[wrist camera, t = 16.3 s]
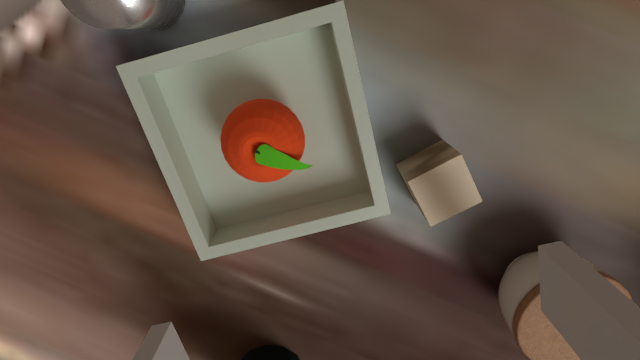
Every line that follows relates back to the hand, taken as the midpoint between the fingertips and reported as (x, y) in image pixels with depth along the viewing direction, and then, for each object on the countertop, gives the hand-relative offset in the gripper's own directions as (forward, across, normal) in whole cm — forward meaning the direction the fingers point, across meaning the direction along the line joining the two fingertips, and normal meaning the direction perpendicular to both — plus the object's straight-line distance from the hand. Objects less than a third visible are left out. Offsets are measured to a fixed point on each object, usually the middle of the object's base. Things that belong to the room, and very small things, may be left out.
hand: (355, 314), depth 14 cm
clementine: (+24, -5, +2) cm, 24 cm away
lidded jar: (+25, +18, -21) cm, 37 cm away
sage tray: (+24, -6, +2) cm, 25 cm away
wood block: (+25, +9, -6) cm, 27 cm away
